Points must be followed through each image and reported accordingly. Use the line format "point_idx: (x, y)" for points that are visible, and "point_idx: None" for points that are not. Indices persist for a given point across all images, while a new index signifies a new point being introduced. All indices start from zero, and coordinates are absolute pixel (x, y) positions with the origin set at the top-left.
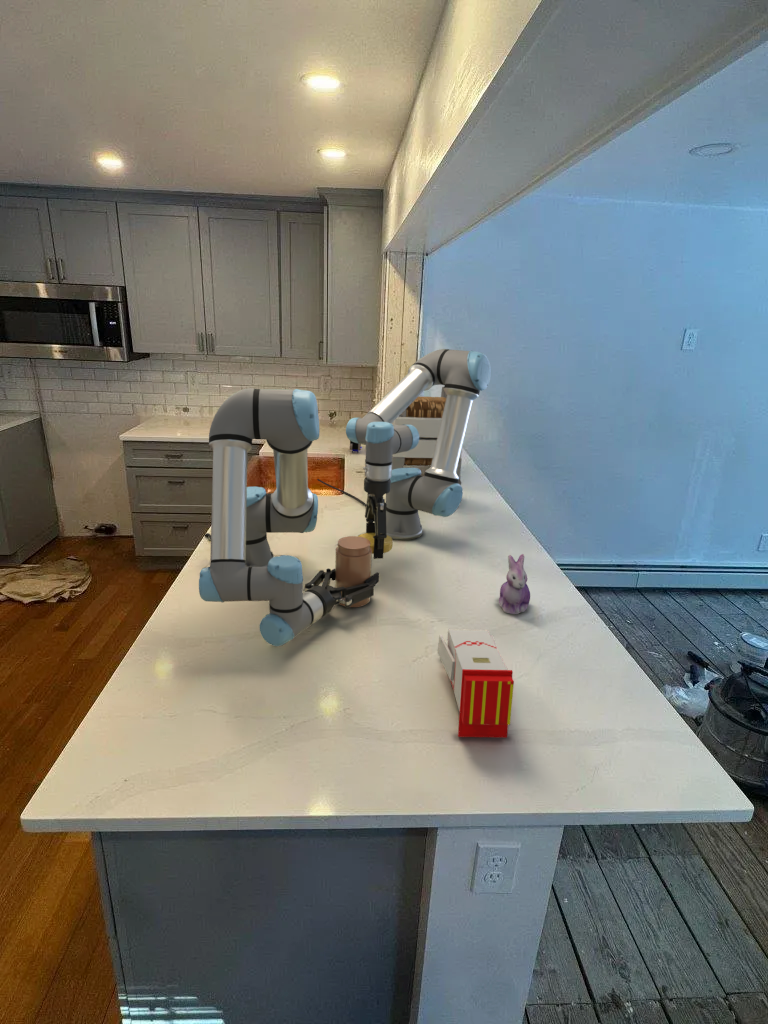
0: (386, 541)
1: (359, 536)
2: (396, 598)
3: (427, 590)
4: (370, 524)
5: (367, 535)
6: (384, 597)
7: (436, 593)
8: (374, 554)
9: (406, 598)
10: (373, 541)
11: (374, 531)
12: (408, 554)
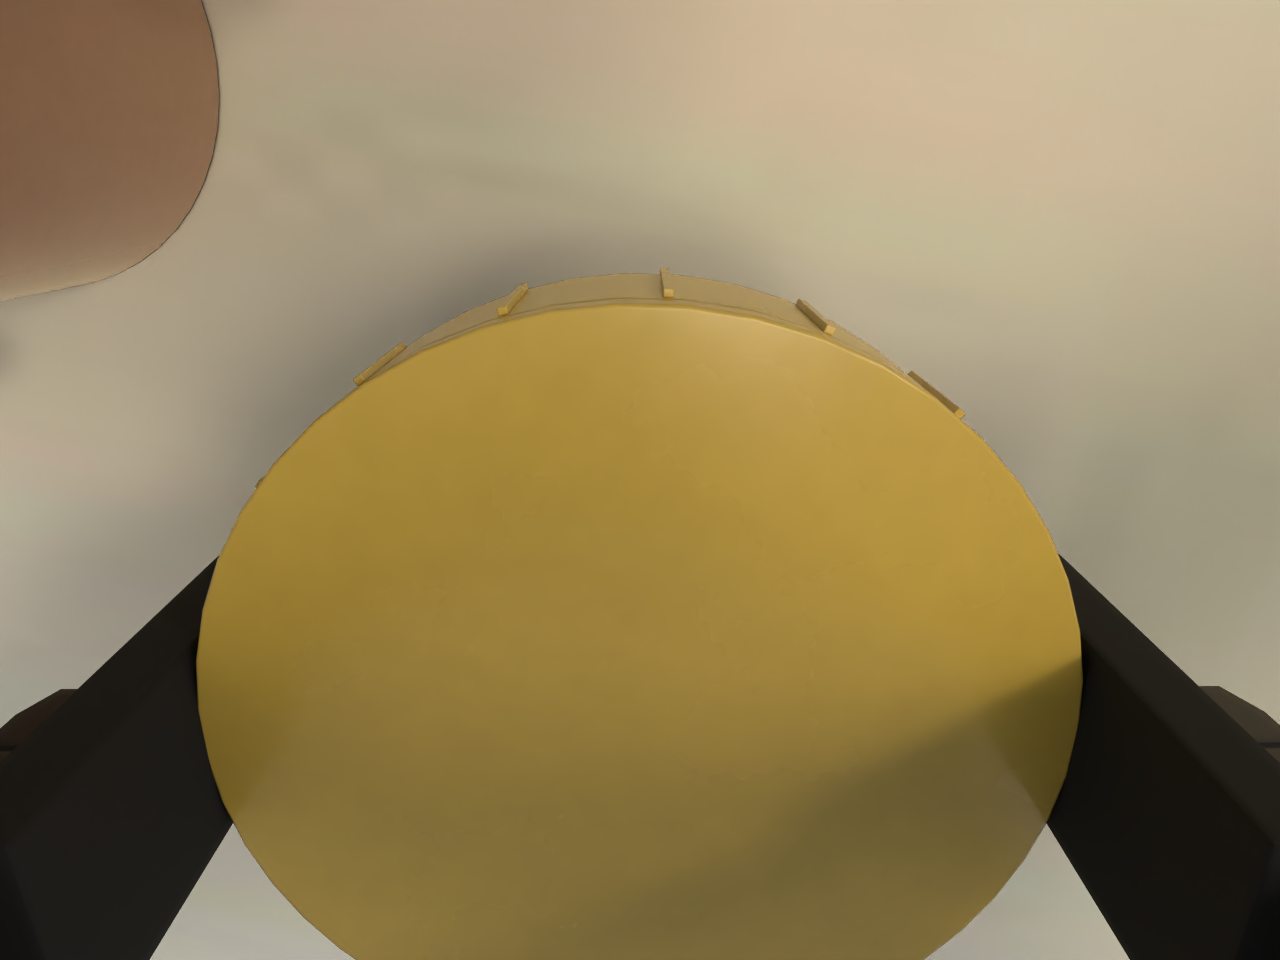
0: (484, 934)
1: (886, 429)
2: (50, 565)
3: (236, 861)
4: (1215, 915)
5: (905, 639)
6: (62, 451)
7: (180, 911)
8: (208, 571)
9: (60, 655)
10: (498, 697)
11: (1070, 838)
12: (1054, 900)
